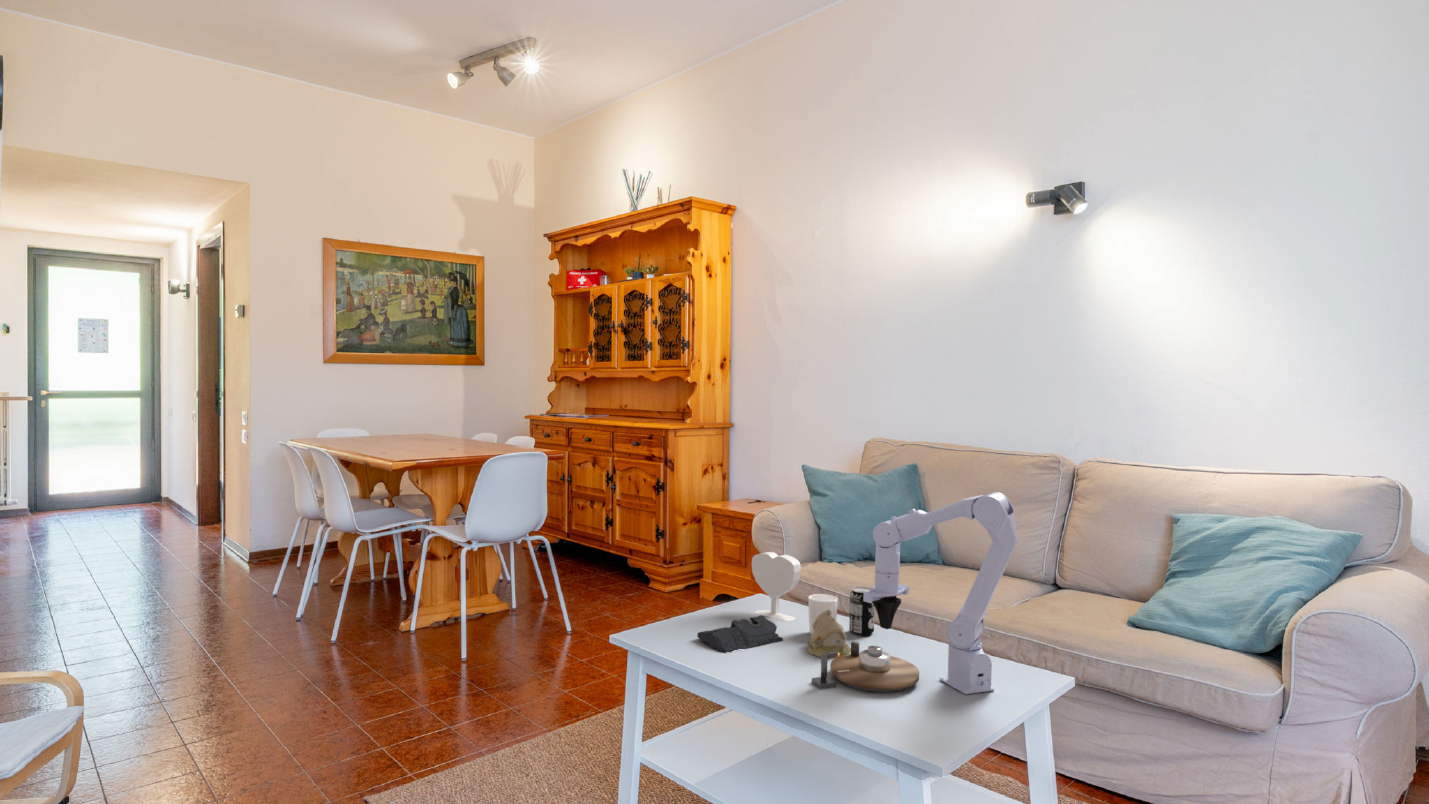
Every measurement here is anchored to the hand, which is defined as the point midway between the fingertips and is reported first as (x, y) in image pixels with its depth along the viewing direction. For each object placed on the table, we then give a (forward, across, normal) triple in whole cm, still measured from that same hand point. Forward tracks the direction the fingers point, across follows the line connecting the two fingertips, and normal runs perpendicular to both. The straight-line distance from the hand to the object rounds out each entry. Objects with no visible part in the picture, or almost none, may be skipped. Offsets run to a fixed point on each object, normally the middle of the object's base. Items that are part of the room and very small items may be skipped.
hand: (885, 627), depth 186 cm
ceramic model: (+10, +1, -17) cm, 20 cm away
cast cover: (+7, +8, +4) cm, 11 cm away
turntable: (+8, +8, +3) cm, 12 cm away
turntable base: (+10, +8, +3) cm, 13 cm away
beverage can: (+10, -16, -21) cm, 28 cm away
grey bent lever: (+10, +20, -1) cm, 22 cm away
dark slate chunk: (+10, +15, -36) cm, 41 cm away
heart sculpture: (+10, -8, -47) cm, 49 cm away
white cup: (+10, -6, -27) cm, 29 cm away
